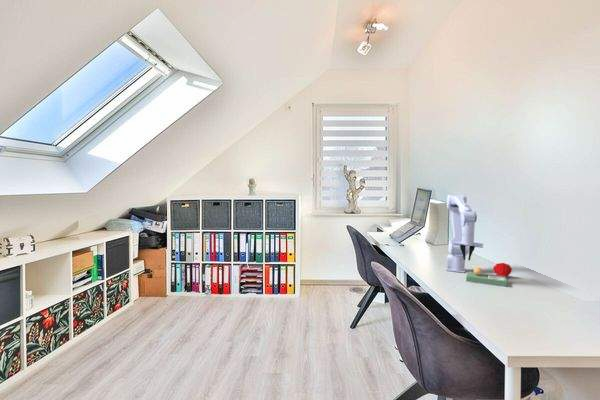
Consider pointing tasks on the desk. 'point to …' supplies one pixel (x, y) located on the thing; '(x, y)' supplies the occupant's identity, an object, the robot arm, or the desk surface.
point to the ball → (478, 271)
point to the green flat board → (487, 279)
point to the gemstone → (502, 269)
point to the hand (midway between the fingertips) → (466, 259)
